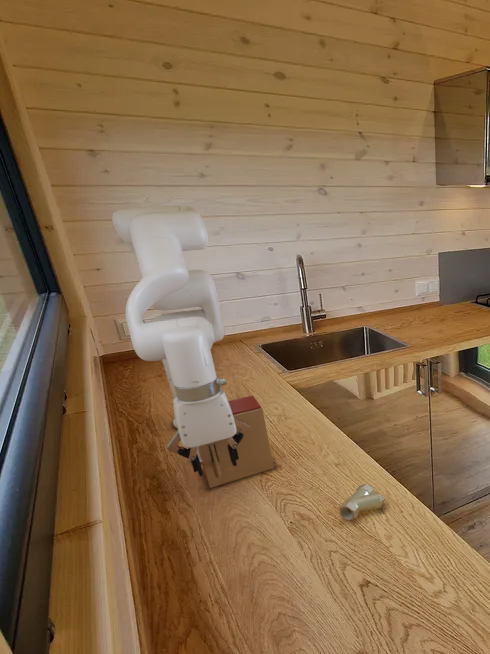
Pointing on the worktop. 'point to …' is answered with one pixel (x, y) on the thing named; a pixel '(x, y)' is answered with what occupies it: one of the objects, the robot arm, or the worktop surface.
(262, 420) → the cabinet door
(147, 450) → the worktop surface
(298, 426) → the worktop surface
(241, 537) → the worktop surface
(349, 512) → the pipe fitting
